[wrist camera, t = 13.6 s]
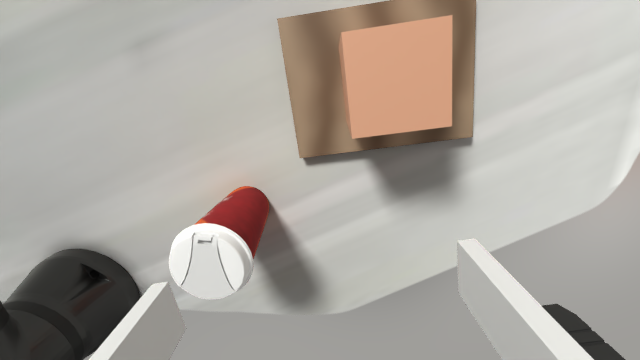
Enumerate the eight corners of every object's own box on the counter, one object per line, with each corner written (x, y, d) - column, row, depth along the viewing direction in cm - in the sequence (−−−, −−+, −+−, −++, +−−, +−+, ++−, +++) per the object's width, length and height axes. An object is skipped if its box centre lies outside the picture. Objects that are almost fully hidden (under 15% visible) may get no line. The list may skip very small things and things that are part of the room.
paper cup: (218, 175, 38) (158, 226, 25) (278, 180, 38) (249, 234, 25) (221, 229, 41) (167, 302, 27) (276, 234, 41) (249, 309, 27)
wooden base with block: (301, 155, 37) (291, 179, 28) (279, 21, 32) (259, -2, 23) (466, 134, 35) (513, 153, 26) (469, -10, 31) (526, -47, 22)
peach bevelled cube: (346, 122, 34) (352, 138, 24) (338, 46, 31) (341, 32, 22) (417, 113, 33) (452, 126, 24) (415, 35, 31) (452, 14, 21)
